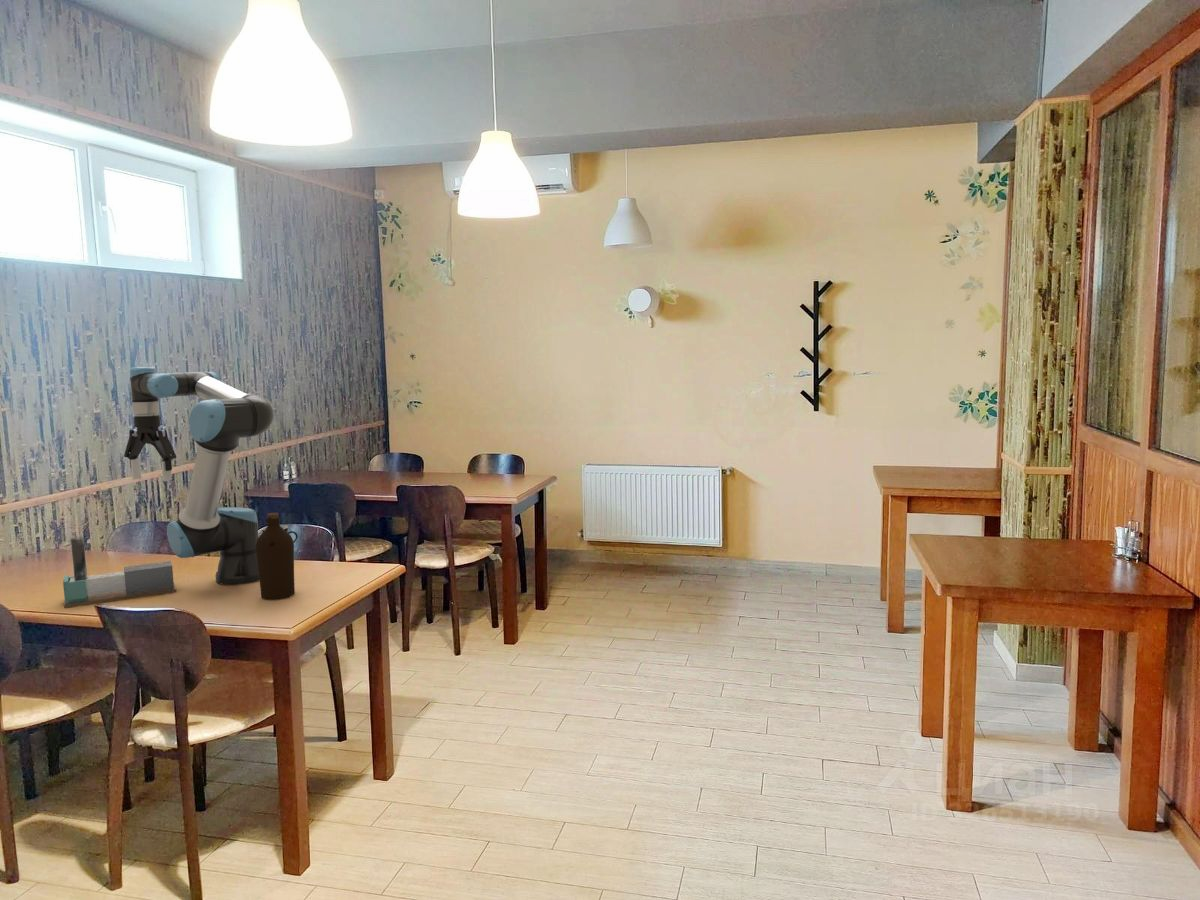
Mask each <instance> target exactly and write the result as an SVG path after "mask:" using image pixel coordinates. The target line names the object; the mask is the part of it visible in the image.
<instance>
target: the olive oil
mask: <svg viewBox="0 0 1200 900" xmlns="http://www.w3.org/2000/svg"><path fill="white" fill-rule="evenodd" d="M266 516H267V518H266V524H267V526H266V527H267V528H266V529H265V530H264V531H263V533H262V532H261V533H260V535H258V539H257V542H256V555H257V563H258V571H259V579H260V580H259V587H260V596H261V598H262V599H263V600H266V601H267V600H268V601H277V600H283V599H287V598H291V597H292V596H294V595H295V594H296V592H295V542H293V541H294V540H293V536H292V535H291V533H288V532H289V531H287V532H286V531H285V530H284V529H283V528H282V527H281V526H282V525H280V517H279V513H278V512H270V513H266ZM290 596H291V597H290Z"/></svg>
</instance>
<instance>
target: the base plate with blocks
mask: <svg viewBox="0 0 1200 900" xmlns="http://www.w3.org/2000/svg"><path fill="white" fill-rule="evenodd" d="M123 571H124V574H125V585H126V590H124V591H117V592H110V593H103V594H96V595H89V596H88V598H87V601H80V602H73V603H66V604H65V599H64V603H63V609H68V608H75V607H82V606H89V605H95V604H96V605H97V604H102V603H103V604H104V603H109V602H110V603H111V602H117V601H123V600H130V599H137V598H143V597H144V598H146V597H151V596H158V595H165V594H171V593H176V592H177V588H176V586H175V584H176V583H174V571H173V563H172V561H171V560H168V561H159V562H152V563H151V562H150V563H143V564H136V565H128V566H123Z"/></svg>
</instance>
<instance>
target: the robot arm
mask: <svg viewBox="0 0 1200 900" xmlns="http://www.w3.org/2000/svg"><path fill="white" fill-rule="evenodd" d="M129 381H130V382H129V383H130V391H131V392H130V393H131V400H132V403H131V404H132V414H133V415H134V416H133V426H134V429H129V434H128V435H129V437H128V440H127V443H126V447H125V451H124V455H123V456H124V458H128V460H129V464H130V470H131V477H132V478H131V479H132V480H133V481H134V480H140V479H142V472H141V460H140V459H141V458H139V456H140V454H141V452H142V450H143V448H144V446H145V445H146V444H147V445H149V444H150V446H153V447H154V449H155V450H156V452H158V454H159V456H160V457H161V458H162V460H161V471H162V472H161V473H162V481H163V482H168V481H172V479H173V477H172V470H173V466H172V460H174V459H176V458H177V454H176V452H175V449H174V448H173V446H172V444H171V441H170V438H169V436H168V431H167V429H162V430H161V429H159V428H160V427H161V416H160V414H159V413H160V404H159V400H160V399H163V398H165V399H167V398H171V397H172V398H173V397H184V396H185V397H189V396H196V397H199V398H201V399H203V400H201V401H199V402H197V403H196V404H194V406H193V407H192V409H191V411H190V413H189V417H188V425H189V427H188V430H189V433H190V436H191V437H192V439H193V440H194V442H195V444H196V445H197V446H198V448H197V453H196V458H195V463H194V466H193V472H192V477H191V482H190V485H189V486H190V487H189V490H188V496H187V500H186V504H185V505H186V506H185V507H183V508H182V509H181V510H180V511H179V512H178V517H177V520H172V521H170V522H168V524H167V526H166V536H167V540H168V543H169V546H170V549H171V550H172V552H173V553H174V554H175V555H176V557H178V558H180V559H187V558H195V557H199V556H204V555H206V554H207V555H208V554H212V553H217V552H219V561H218V566H217V571H216V572H215V582H216V583H217V584H221V585H225V586H226V585H228V586H229V585H233V586H234V585H244V584H249V583H255V582H258V581H259V582H260V579H259V571H258V563H257V555H256V542H257V539H258V537H259V528H258V527H259V526H258V523H259V522H258V521H259V520H258V516H257V512H256V510H255V509H253V508H247V507H239V506H238V507H235V506H234V507H232V506H231V507H230V506H229V507H225V506H224V507H219V504H220V498H221V495H222V490H223V485H224V482H225V476H226V473H227V469H228V464H229V458H230V455H231V452H233V451H235V450H236V449H237V448H238V446H239V445H238V444H239V441H240V439H242V438H251V437H257V436H259V435H262V434H263V433H265V432H266V431H267V430H268V429H269V428H270V427H271V425H272V423H273V421H274V416H275V415H274V409H273V406H272V404H271V403H270V402H269V401H268V400H267V399H266V398H264V397H262V396H260V395H258V394H256V393H246V392H244V391H241V390H239V389H237V388H235V387H233V386H231V385H229V384H227V383H225V382H223V381H221V380H220V378H219V376H218V375H217V373H216V372H213V371H206V370H205V371H194V372H193V371H187V372H159V373H158V372H157V369H156V367H154V366H135V367H134V366H133V367H131V368H130V370H129ZM135 428H136V429H135ZM218 507H219V508H218Z"/></svg>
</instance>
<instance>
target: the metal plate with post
mask: <svg viewBox="0 0 1200 900" xmlns="http://www.w3.org/2000/svg"><path fill="white" fill-rule="evenodd" d="M70 545H71V546H70V547H71V554H72V556H71V557H72V565H73V576H74V578H70V582H72V581H80V580H86V590H87V596H89V595H96V594H103V593H110V592H117V591H124V590H126V585H125V574H124V570H121V571H115V572H108V573H101V574H91V575H88V572H87V570H88V569H87V561H86V560H87V559H86V550H85V549H86V548H85V539H84V537H82V536H79V537H78V536H77V537H73V538H70Z"/></svg>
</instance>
